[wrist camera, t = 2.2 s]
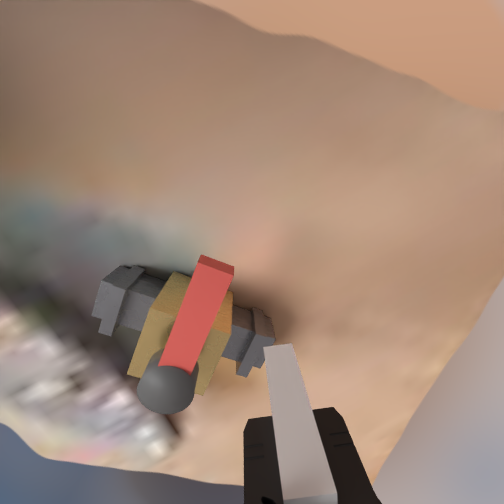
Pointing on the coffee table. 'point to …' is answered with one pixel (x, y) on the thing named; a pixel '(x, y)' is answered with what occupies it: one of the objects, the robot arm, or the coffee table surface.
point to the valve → (163, 318)
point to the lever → (185, 341)
